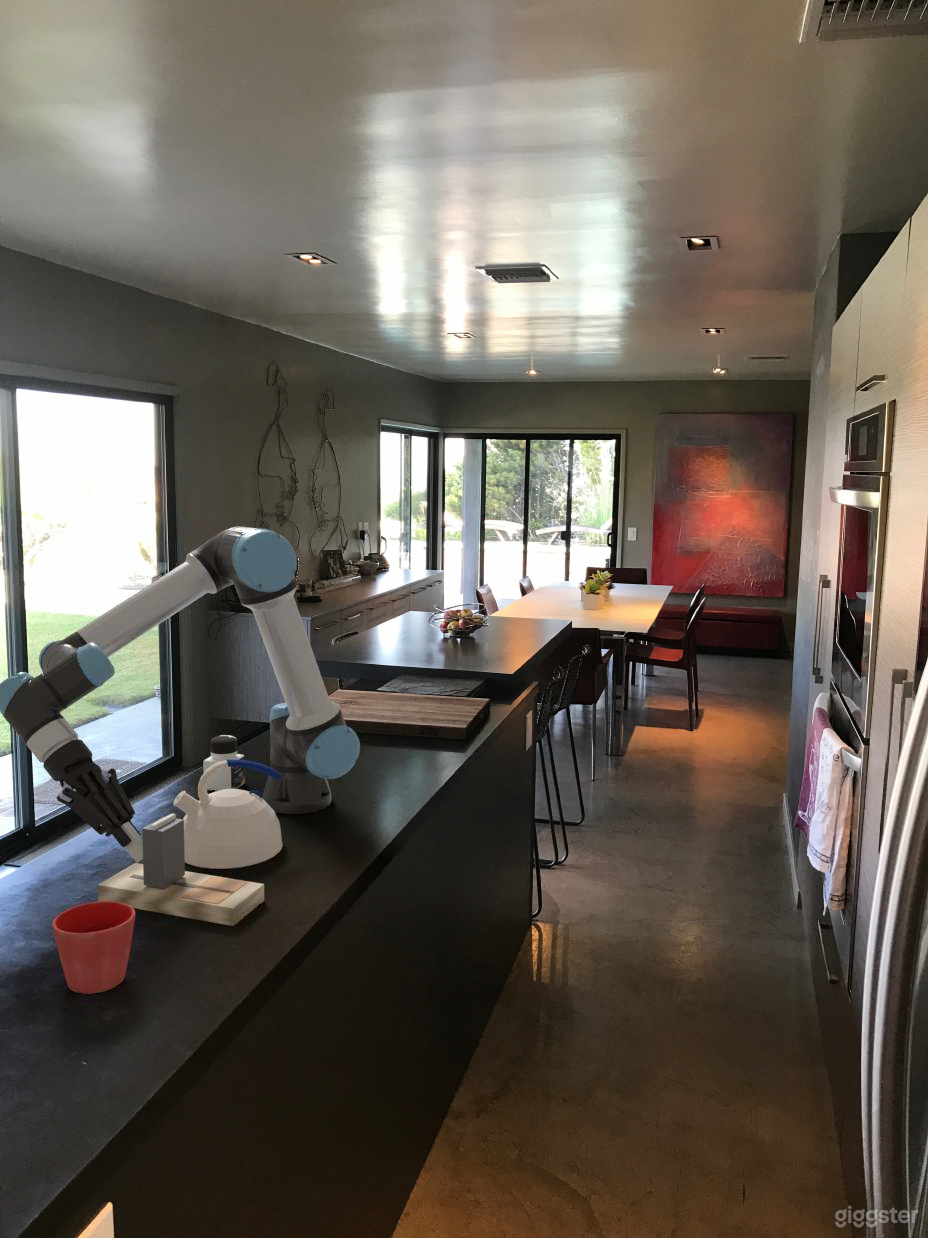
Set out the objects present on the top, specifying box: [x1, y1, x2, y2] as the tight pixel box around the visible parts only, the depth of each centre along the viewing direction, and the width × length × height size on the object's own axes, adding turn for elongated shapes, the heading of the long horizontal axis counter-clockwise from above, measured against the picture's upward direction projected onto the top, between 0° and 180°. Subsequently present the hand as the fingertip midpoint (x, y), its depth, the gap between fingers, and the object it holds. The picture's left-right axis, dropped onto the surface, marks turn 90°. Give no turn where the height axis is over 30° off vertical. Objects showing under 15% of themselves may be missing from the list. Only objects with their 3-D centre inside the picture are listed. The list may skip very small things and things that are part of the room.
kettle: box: [173, 759, 283, 870], centre depth 183 cm, size 20×21×18 cm
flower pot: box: [51, 901, 136, 994], centre depth 134 cm, size 11×11×10 cm
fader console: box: [97, 862, 265, 927], centre depth 160 cm, size 26×10×3 cm, turn 73°
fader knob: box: [141, 813, 186, 889], centre depth 160 cm, size 4×6×11 cm, turn 163°
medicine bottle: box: [202, 734, 246, 792], centre depth 220 cm, size 7×7×12 cm
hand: (144, 857), depth 160 cm, fingers closed
